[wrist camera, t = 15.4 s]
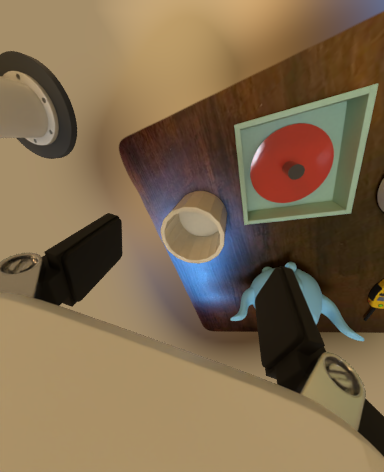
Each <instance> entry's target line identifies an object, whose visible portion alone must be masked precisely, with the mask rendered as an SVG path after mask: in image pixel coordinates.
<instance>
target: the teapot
mask: <svg viewBox="0 0 384 472" xmlns="http://www.w3.org/2000/svg"><path fill="white" fill-rule="evenodd" d="M285 267H287V268H290V269H292V270H293V271H294V274H295V276H296V278H297V281H298V283H299V286H300V288H301V290H302V293H303V295H304V297H305V300H306V302H307V304H308V307H309V309H310V312H311V314H312V316H313V319H314V321H315V323H316V324H317V322H318V320H319V317H320V314H321V313H322V314H324V315H326V316H327V317H328V318H329V319H330V320H331V321H332V322H333V323H334V325H335V326H336V327H337V328H338V329H339V330H340V331H341V332H342V333H343V334H345V335H346V336H348V337H350V338H352V339H355V340H358V341H364V338H363V337H361V336H360V335H358V334H357V333H355V332H354V331H353V330H352V329H350V328H349V327H348V325H347V324H346V323H345V321H344V320H343V318H342V316H341V314H340V312H339V310H338V308H337V307H336V305H335V304H334V303H333V302H332V301H331V300H330V299H329V298H327V297H326V296H324V295H323V294H321V290H320V287H319V285H318V283H317V282H316V280H315V279H314V278H313V277H312V276H310V275H309V274H307V273H306V272H303V271H301V270H300V269H296V264H295V263H293V262H288V263H286V265H285ZM274 269H275V268H273V269H272V268H271V267H265V268H263V269H262V273H261V274H260V275H258V276H257V277H256V278H255V279H254V280H253V282H252V284H251V287H250V288H249V289H247V290H246V291H245V292H244V293H243V295H242V298H241V306H240V310H239V312H238V314H237V315H235V316H234V317H232V318H231V319H230V320H232V321H239V320H242V319H244V318H245V317H246V315H247V309H248V306H249V305H251V304H253V305H254V307H255V298H256V296H257V294H258V293H259V291H260V290H261V288H262V287H263V285H264V284H265V282H266V281H267V279H268V278H269V276H270V275H271V273H272V272H273V270H274ZM255 309H256V308H255Z"/></svg>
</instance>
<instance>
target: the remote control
mask: <svg viewBox="0 0 384 472" xmlns="http://www.w3.org/2000/svg"><path fill="white" fill-rule="evenodd" d="M368 297H369V298H368V303H369V304H370V305H371V306H372V307H373V308H372V309H371V310H370V311H369V313H368V314H367V315H366V317H365V318H364V320H365V321H367V319H368V318H369V317H370V315H371V314H372V313H373V312H374V310H375V309H376V308H381V309H384V279H383V280H382V281H381V282H380V283H378V284H376V285H375V286H374V287H373V288H372V290H371V291H370V293H369V296H368Z"/></svg>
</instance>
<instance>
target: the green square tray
mask: <svg viewBox="0 0 384 472" xmlns="http://www.w3.org/2000/svg"><path fill="white" fill-rule="evenodd" d="M377 88H378V84H374V85H371V86H367V87H364V88H360V89H357V90H354V91H350V92H347V93H343V94H340V95H336V96H333V97H329V98H326V99H323V100H319V101H316V102H312V103H309V104H305V105H302V106H298V107H295V108H292V109H288V110H285V111H281V112H278V113H274V114H271V115H267V116H264V117H261V118H257V119H254V120H250V121H247V122H243V123H240V124H236V125H234V129H235V139H236V149H237V158H238V168H239V178H240V187H241V197H242V207H243V217H244V225H248V224H257V223H266V222H276V221H285V220H294V219H303V218H312V217H321V216H330V215H340V214H349V213H351V211H352V206H353V201H354V197H355V192H356V187H357V182H358V178H359V173H360V168H361V164H362V159H363V154H364V150H365V145H366V140H367V135H368V131H369V126H370V121H371V117H372V112H373V107H374V103H375V98H376V93H377ZM297 123H306V124H312V125H315V126H317V127H319V128H321V129H322V130H323V131H325V132H326V133H327V135H328V136H329V137H330V139H331V141H332V144H333V148H334V159H333V164H332V167H331V170H330V172H329V174H328V176H327V178H326V179H325V180H324V182H323V183H322V184H321V185H320V186H319V187H318V188H317V189H316V190H315V191H314V192H312V193H311V194H309V195H308V196H306V197H304V198H302V199H300V200H297V201H294V202H289V203H275V202H271V201H268V200H266V199H264V198H263V197H261V196H260V195H259V194H258V193H257V192H256V190H255V189H254V187H253V185H252V182H251V178H250V166H251V162H252V158H253V156H254V154H255V152H256V150H257V148H258V147H259V146H260V144H261V143H262V142H263V141H264V140H265V139H266V138H267V137H268V136H269V135H270V134H272V133H273V132H275V131H276V130H278V129H280V128H282V127H285V126H288V125H291V124H297Z"/></svg>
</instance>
